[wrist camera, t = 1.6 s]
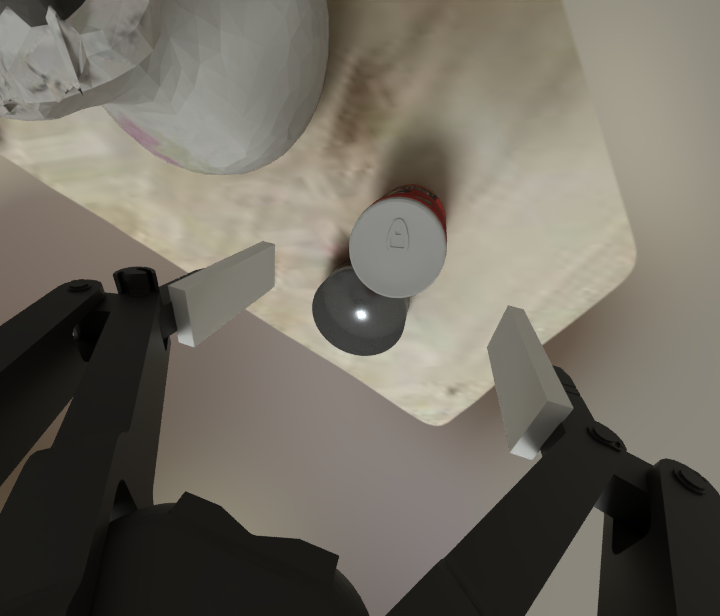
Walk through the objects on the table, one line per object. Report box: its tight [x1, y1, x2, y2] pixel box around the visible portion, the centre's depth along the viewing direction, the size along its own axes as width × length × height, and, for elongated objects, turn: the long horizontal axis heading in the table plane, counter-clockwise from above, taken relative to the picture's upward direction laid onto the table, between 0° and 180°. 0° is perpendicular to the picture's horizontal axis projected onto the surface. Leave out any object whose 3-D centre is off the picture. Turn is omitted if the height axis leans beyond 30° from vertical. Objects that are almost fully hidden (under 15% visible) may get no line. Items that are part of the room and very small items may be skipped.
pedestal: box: [312, 260, 409, 356], centre depth 35 cm, size 11×11×5 cm
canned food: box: [349, 184, 447, 298], centre depth 27 cm, size 8×8×11 cm
